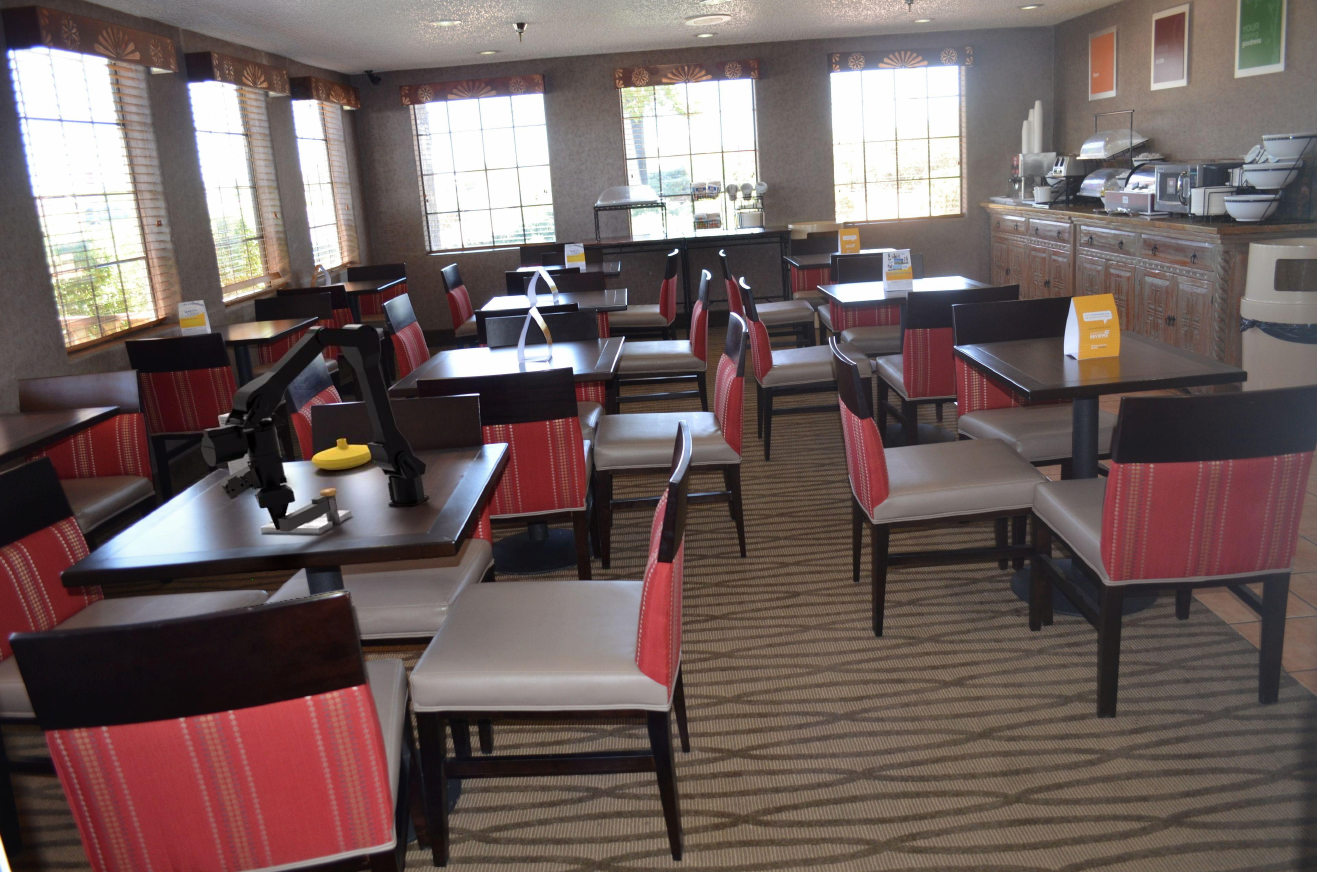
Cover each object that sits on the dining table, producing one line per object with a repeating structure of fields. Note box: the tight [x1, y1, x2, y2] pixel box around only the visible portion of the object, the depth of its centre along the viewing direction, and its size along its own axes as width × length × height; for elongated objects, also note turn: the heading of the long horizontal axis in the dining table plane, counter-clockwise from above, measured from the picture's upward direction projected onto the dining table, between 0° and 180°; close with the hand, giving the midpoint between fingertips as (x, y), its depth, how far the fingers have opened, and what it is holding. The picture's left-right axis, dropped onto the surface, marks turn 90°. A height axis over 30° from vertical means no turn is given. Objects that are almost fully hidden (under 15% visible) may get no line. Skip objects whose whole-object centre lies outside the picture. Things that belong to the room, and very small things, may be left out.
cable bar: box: [278, 487, 338, 532], centre depth 189 cm, size 15×3×4 cm, turn 161°
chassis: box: [260, 494, 353, 535], centre depth 197 cm, size 15×11×6 cm
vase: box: [311, 438, 371, 471], centre depth 244 cm, size 16×16×7 cm
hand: (279, 529), depth 185 cm, fingers closed
